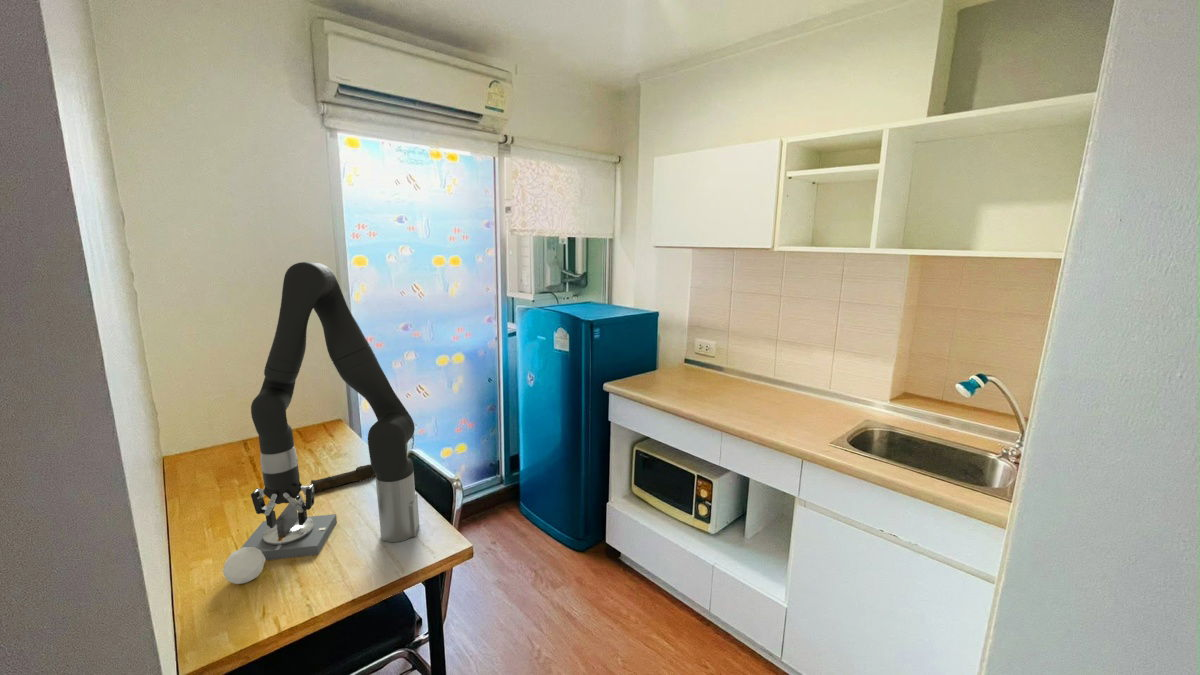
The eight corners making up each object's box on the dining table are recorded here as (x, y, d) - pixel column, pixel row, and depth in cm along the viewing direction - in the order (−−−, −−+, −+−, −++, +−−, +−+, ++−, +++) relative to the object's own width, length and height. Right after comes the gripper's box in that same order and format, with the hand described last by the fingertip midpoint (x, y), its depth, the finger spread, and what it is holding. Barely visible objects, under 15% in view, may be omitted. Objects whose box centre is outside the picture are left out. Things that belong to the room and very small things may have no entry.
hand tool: (312, 495, 145) (310, 482, 144) (311, 490, 149) (309, 476, 148) (379, 479, 156) (378, 466, 155) (377, 474, 159) (375, 461, 158)
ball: (253, 592, 109) (249, 581, 104) (217, 583, 108) (210, 571, 103) (274, 559, 115) (271, 547, 110) (240, 550, 114) (235, 537, 108)
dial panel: (336, 522, 132) (335, 513, 131) (318, 554, 118) (317, 544, 118) (264, 529, 128) (263, 520, 128) (237, 563, 115) (235, 553, 114)
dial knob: (320, 517, 129) (317, 497, 128) (304, 542, 119) (301, 521, 117) (275, 521, 127) (272, 501, 126) (254, 547, 116) (251, 525, 115)
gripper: (239, 474, 114) (249, 536, 117) (305, 469, 117) (313, 530, 120) (255, 460, 121) (263, 519, 124) (316, 456, 124) (323, 513, 127)
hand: (288, 524), depth 122 cm, fingers open, 6 cm apart
